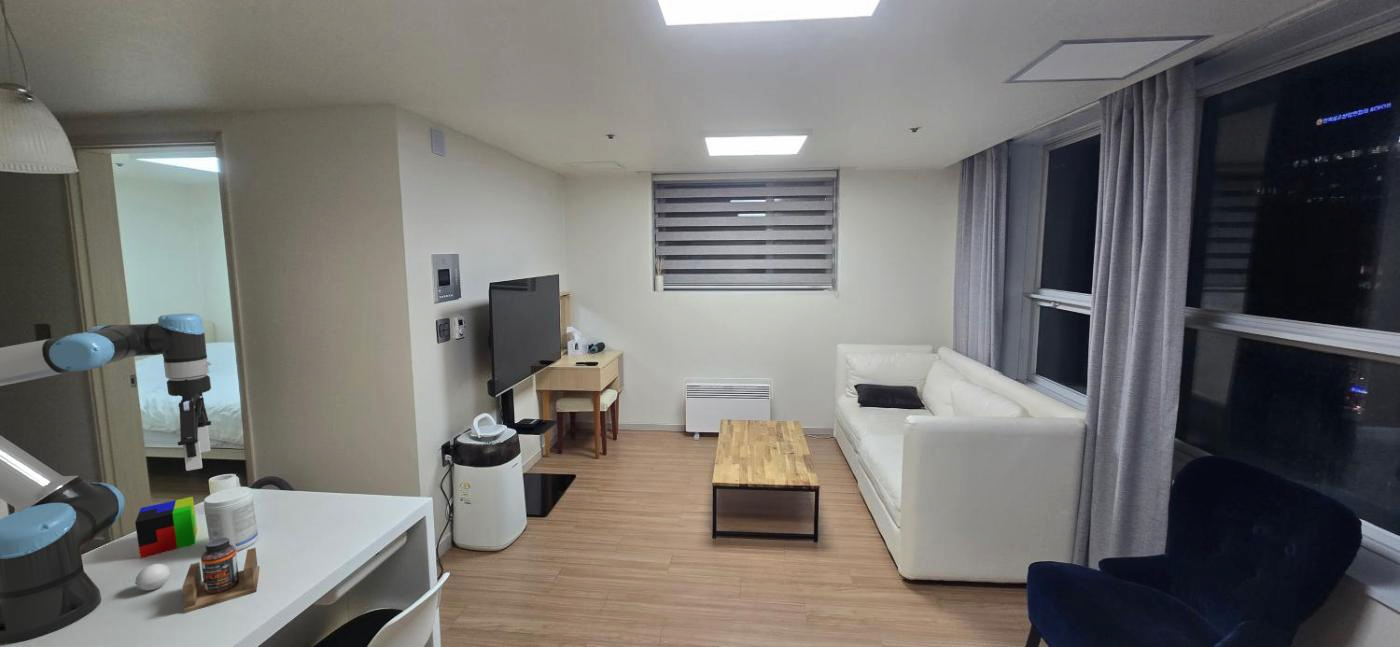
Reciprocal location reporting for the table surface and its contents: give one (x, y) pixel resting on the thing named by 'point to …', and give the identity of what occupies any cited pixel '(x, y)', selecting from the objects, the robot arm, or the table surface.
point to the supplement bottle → (219, 566)
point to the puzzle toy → (166, 527)
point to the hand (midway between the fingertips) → (199, 460)
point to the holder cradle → (246, 585)
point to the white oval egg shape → (152, 577)
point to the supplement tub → (232, 516)
